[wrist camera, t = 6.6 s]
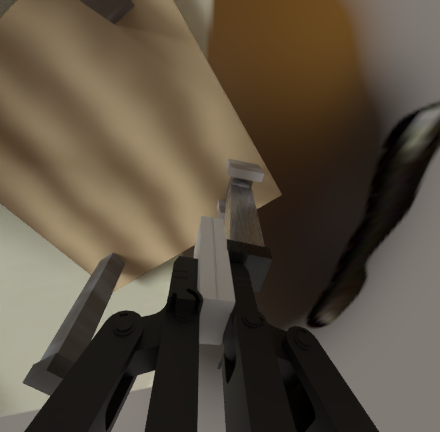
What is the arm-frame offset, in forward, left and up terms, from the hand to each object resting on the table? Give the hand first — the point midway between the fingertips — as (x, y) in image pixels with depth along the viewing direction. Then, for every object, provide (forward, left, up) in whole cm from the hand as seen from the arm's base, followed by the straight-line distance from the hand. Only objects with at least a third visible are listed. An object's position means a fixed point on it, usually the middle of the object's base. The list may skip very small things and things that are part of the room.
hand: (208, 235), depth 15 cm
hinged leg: (+1, -1, -3) cm, 3 cm away
